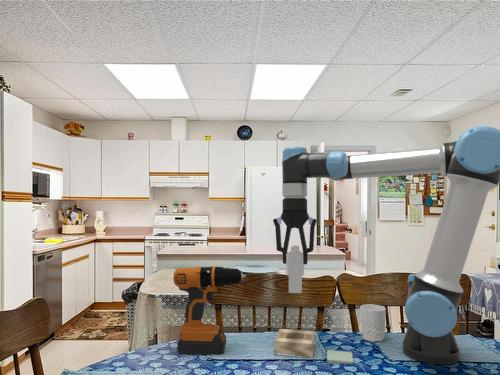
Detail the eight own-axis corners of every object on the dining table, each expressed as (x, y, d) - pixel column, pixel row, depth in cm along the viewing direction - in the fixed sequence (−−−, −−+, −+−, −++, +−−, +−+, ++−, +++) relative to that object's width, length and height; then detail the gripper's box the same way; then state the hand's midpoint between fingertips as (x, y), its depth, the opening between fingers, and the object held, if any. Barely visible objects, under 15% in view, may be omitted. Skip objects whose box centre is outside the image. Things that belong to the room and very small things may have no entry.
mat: (351, 354, 111) (351, 352, 111) (353, 364, 104) (353, 361, 104) (327, 352, 112) (327, 350, 112) (326, 361, 106) (326, 359, 106)
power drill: (246, 346, 117) (246, 264, 118) (244, 355, 110) (245, 268, 111) (177, 344, 118) (177, 263, 119) (171, 354, 111) (171, 267, 112)
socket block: (314, 344, 119) (314, 331, 119) (312, 358, 108) (312, 344, 108) (279, 341, 121) (279, 328, 121) (274, 354, 110) (274, 340, 110)
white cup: (365, 332, 130) (365, 303, 130) (389, 337, 125) (388, 306, 125) (357, 339, 123) (356, 308, 124) (381, 344, 119) (381, 312, 119)
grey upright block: (302, 289, 118) (301, 245, 118) (300, 294, 112) (300, 247, 113) (290, 289, 118) (290, 245, 119) (288, 293, 113) (288, 247, 113)
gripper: (322, 197, 118) (323, 273, 117) (269, 198, 122) (270, 271, 121) (322, 197, 111) (322, 278, 110) (265, 197, 114) (266, 276, 113)
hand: (295, 274), depth 115 cm, fingers closed on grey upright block, 4 cm apart
